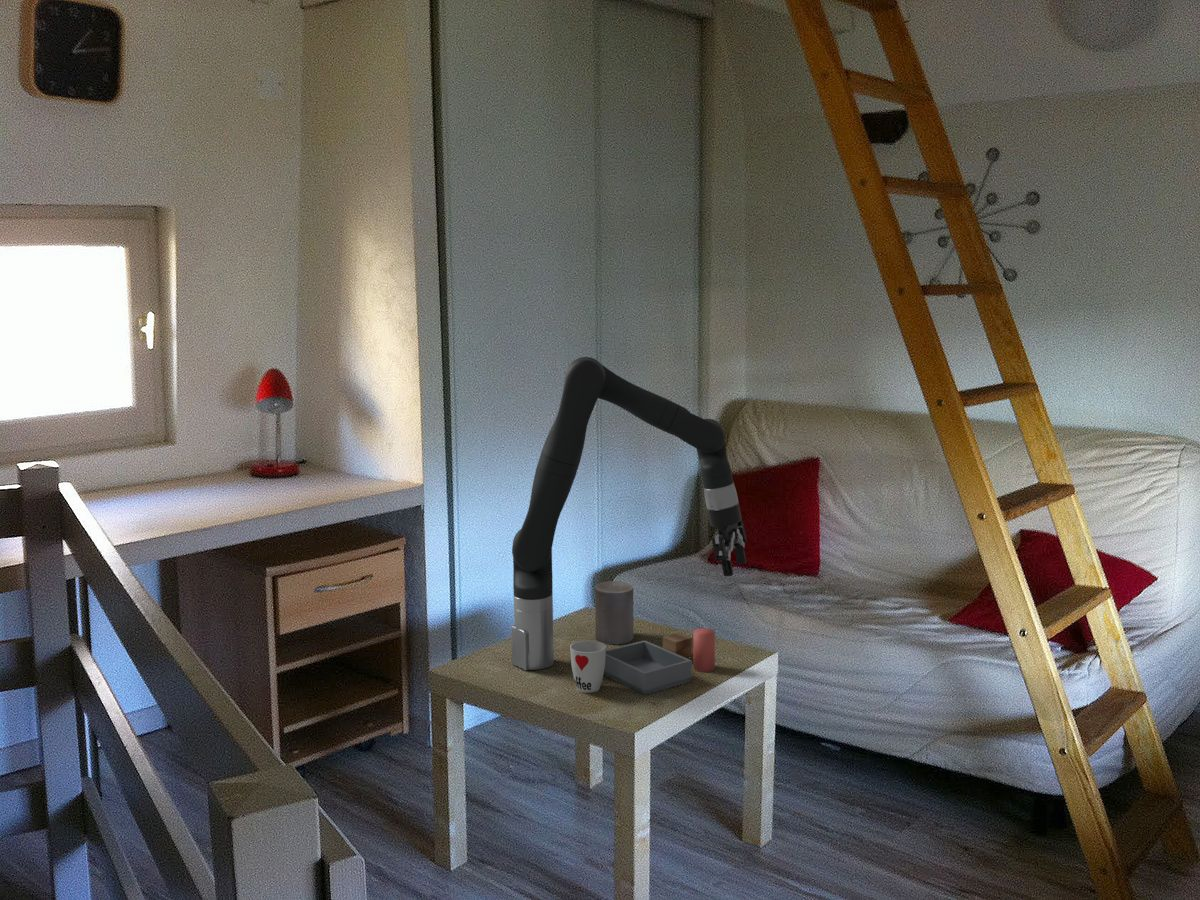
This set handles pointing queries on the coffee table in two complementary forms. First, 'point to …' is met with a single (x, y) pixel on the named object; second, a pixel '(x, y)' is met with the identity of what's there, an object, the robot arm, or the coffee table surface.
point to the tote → (647, 667)
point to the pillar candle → (614, 612)
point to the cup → (588, 664)
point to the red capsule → (704, 649)
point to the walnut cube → (678, 644)
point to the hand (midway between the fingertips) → (735, 569)
